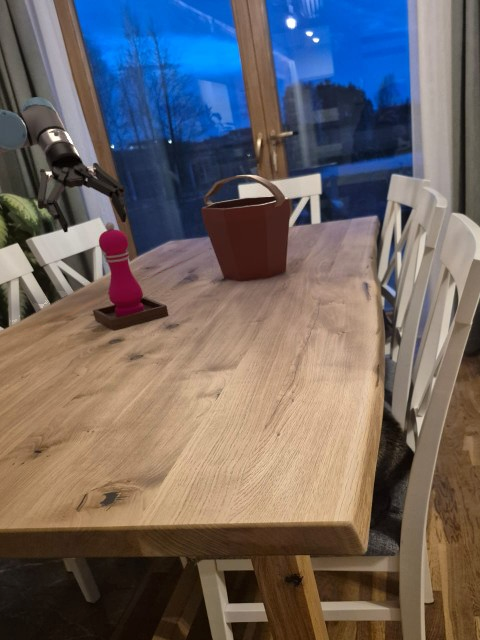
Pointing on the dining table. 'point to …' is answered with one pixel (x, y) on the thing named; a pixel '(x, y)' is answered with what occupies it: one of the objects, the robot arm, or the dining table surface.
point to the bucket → (249, 232)
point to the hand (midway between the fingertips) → (96, 223)
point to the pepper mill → (120, 273)
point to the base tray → (112, 321)
